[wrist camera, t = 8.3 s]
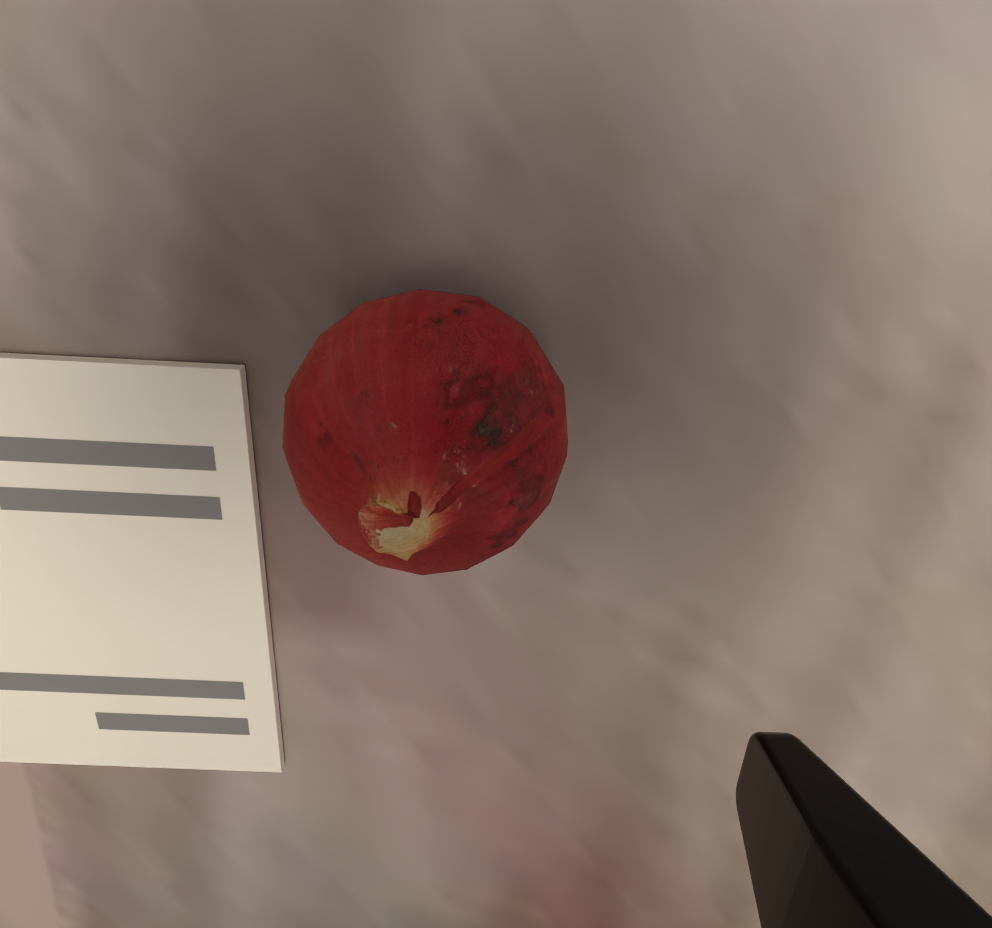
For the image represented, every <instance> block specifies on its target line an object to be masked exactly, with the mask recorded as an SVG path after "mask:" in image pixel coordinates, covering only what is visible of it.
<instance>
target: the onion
mask: <svg viewBox="0 0 992 928" xmlns="http://www.w3.org/2000/svg"><path fill="white" fill-rule="evenodd" d="M567 445H568V436H567V422H566V409H565V395H564V385H563V383H562V382H561V380H560V379H559V377H558V375H557V374H556V372H555V370H554V369H553V367H552V365H551V364H550V362H549V360H548V359H547V357H546V356H545V354H544V352H543V351H542V349H541V347H540V346H539V344H538V342H537V341H536V339H535V337H534V336H533V334H532V333H531V332H530V330H529V329H528V328H527V327H526V326H524V325H522V324H521V323H519V322H518V321H516V320H515V319H513V318H511V317H510V316H508V315H507V314H505V313H504V312H502V311H500V310H499V309H497V308H496V307H494V306H493V305H491V304H490V303H488V302H486V301H485V300H483V299H482V298H480V297H476V296H468V295H461V294H453V293H445V292H437V291H430V290H422V289H419V290H414V291H410V292H406V293H402V294H397V295H393V296H389V297H385V298H380V299H376V300H372V301H368V302H364V303H363V304H361V305H360V306H359V307H357V308H356V309H355V310H353V311H352V312H350V313H349V314H348V315H346V316H345V317H344V318H342V319H341V320H340V321H338V322H337V323H336V324H334V325H333V326H331V327H330V328H329V329H327V330H326V331H325V332H323V333H322V334H321V335H320V336H319V338H318V339H317V341H316V342H315V344H314V346H313V347H312V349H311V350H310V352H309V353H308V355H307V357H306V358H305V360H304V361H303V363H302V365H301V366H300V368H299V369H298V371H297V373H296V374H295V376H294V377H293V379H292V381H291V383H290V385H289V388H288V390H287V392H286V394H285V412H284V430H283V450H284V453H285V456H286V459H287V462H288V465H289V467H290V470H291V473H292V475H293V478H294V481H295V484H296V486H297V489H298V492H299V494H300V497H301V500H302V502H303V505H304V506H305V507H306V508H307V509H308V510H309V511H310V513H311V514H312V515H313V516H314V517H315V518H316V520H317V521H318V522H319V523H320V524H321V525H322V527H323V528H324V529H325V530H326V531H327V532H328V534H329V535H330V536H331V537H332V538H333V539H334V540H335V542H336V543H337V544H339V545H341V546H343V547H345V548H346V549H348V550H350V551H352V552H354V553H356V554H358V555H359V556H361V557H363V558H365V559H367V560H369V561H371V562H372V563H374V564H376V565H379V566H383V567H388V568H392V569H397V570H401V571H406V572H410V573H415V574H419V575H427V574H435V573H443V572H451V571H459V570H467V569H469V568H471V567H472V566H474V565H476V564H478V563H480V562H482V561H484V560H486V559H488V558H490V557H492V556H494V555H496V554H498V553H500V552H502V551H504V550H505V549H507V548H509V547H511V546H513V545H514V544H515V542H516V541H517V540H518V539H519V538H520V537H521V536H522V535H523V534H524V532H525V531H526V530H527V529H528V528H529V527H530V526H531V525H532V523H533V522H534V521H535V520H536V519H537V518H538V517H539V516H540V515H541V513H542V512H543V511H544V510H545V508H546V507H547V506H548V504H549V503H550V501H551V498H552V495H553V493H554V490H555V487H556V484H557V482H558V479H559V476H560V473H561V470H562V468H563V465H564V462H565V459H566V456H567Z"/></svg>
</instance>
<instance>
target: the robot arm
mask: <svg viewBox="0 0 992 928" xmlns="http://www.w3.org/2000/svg"><path fill="white" fill-rule="evenodd" d="M736 804H737V811H738V816H739V821H740V826H741V831H742V835H743V840H744V845H745V850H746V855H747V860H748V865H749V870H750V874H751V879H752V884H753V889H754V894H755V899H756V904H757V908H758V913H759V918H760V923H761V928H992V916H991V915H990V914H988V913H987V912H986V911H985V910H984V909H983V908H982V907H981V906H980V905H979V904H978V903H976V902H975V901H974V900H973V899H972V898H971V897H970V896H969V895H968V894H967V893H966V892H965V891H963V890H962V889H961V888H960V887H959V886H958V885H957V884H956V883H955V882H954V881H953V880H951V879H950V878H949V877H948V876H947V875H946V874H945V873H944V872H943V871H942V870H941V869H940V868H938V867H937V866H936V865H935V864H934V863H933V862H932V861H931V860H930V859H929V858H928V857H926V856H925V855H924V854H923V853H922V852H921V851H920V850H919V849H918V848H917V847H916V846H915V845H913V844H912V843H911V842H910V841H909V840H908V839H907V838H906V837H905V836H904V835H903V834H901V833H900V832H899V831H898V830H897V829H896V828H895V827H894V826H893V825H892V824H891V823H890V822H888V821H887V820H886V819H885V818H884V817H883V816H882V815H881V814H880V813H879V812H878V811H876V810H875V809H874V808H873V807H872V806H871V805H870V804H869V803H868V802H867V801H866V800H865V799H863V798H862V797H861V796H860V795H859V794H858V793H857V792H856V791H855V790H854V789H853V788H852V787H850V786H849V785H848V784H847V783H846V782H845V781H844V780H843V779H842V778H841V777H840V776H838V775H837V774H836V773H835V772H834V771H833V770H832V769H831V768H830V767H829V766H828V765H827V764H825V763H824V762H823V761H822V760H821V759H820V758H819V757H818V756H817V755H816V754H815V753H813V752H812V751H811V750H810V749H809V748H808V747H807V746H806V745H805V744H804V743H803V742H802V741H800V740H799V739H798V738H797V737H795V736H793V735H792V734H789V733H773V732H757V733H754V734H753V735H752V736H751V737H750V739H749V742H748V745H747V748H746V752H745V756H744V760H743V763H742V767H741V771H740V775H739V778H738V782H737V787H736Z"/></svg>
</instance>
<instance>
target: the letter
mask: <svg viewBox="0 0 992 928" xmlns="http://www.w3.org/2000/svg"><path fill="white" fill-rule="evenodd" d="M1 761H2V762H25V763H50V764H76V765H102V766H128V767H154V768H179V769H205V770H231V771H257V772H282V769H283V766H284V763H285V761H284V751H283V741H282V731H281V721H280V711H279V701H278V691H277V681H276V671H275V661H274V651H273V641H272V631H271V621H270V611H269V602H268V592H267V582H266V572H265V562H264V552H263V542H262V532H261V522H260V512H259V502H258V492H257V482H256V472H255V462H254V452H253V442H252V432H251V422H250V412H249V402H248V392H247V382H246V372H245V365H236V364H216V363H197V362H177V361H157V360H138V359H118V358H98V357H79V356H59V355H39V354H19V353H0V762H1Z"/></svg>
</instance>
